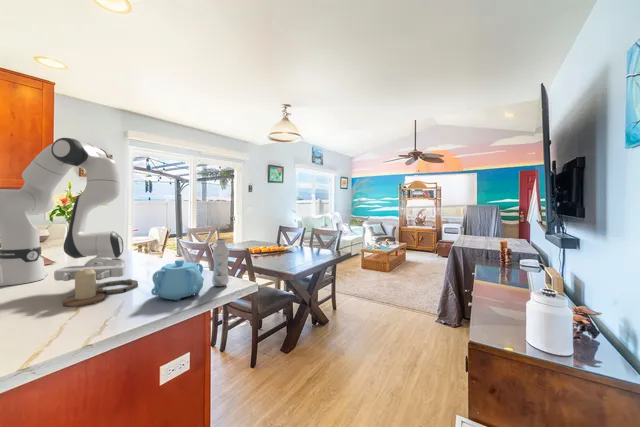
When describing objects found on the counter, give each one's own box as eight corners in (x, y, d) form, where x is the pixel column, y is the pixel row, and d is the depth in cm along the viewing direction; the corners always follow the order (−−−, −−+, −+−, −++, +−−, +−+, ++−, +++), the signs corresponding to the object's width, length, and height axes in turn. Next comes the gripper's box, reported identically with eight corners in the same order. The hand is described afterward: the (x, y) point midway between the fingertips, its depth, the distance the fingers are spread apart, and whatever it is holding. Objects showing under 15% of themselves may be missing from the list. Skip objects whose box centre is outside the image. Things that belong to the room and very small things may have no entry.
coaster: (53, 305, 89) (53, 302, 89) (86, 294, 100) (86, 291, 100) (81, 308, 87) (81, 304, 87) (112, 296, 98) (112, 293, 98)
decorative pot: (166, 289, 108) (166, 256, 108) (207, 288, 110) (207, 255, 110) (145, 304, 92) (145, 265, 92) (194, 302, 94) (194, 264, 94)
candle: (98, 293, 97) (98, 266, 97) (92, 298, 92) (92, 270, 92) (79, 295, 95) (79, 267, 95) (71, 300, 90) (71, 271, 90)
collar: (80, 292, 101) (80, 288, 101) (115, 281, 116) (115, 277, 116) (114, 295, 99) (114, 291, 99) (146, 284, 114) (146, 279, 114)
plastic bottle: (211, 284, 115) (212, 238, 115) (228, 282, 118) (228, 238, 117) (212, 289, 109) (212, 240, 109) (229, 287, 112) (230, 240, 112)
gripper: (65, 261, 101) (43, 270, 88) (129, 258, 109) (117, 266, 96) (65, 278, 101) (43, 289, 89) (129, 274, 109) (117, 283, 96)
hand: (82, 277), depth 92 cm, fingers open, 8 cm apart
